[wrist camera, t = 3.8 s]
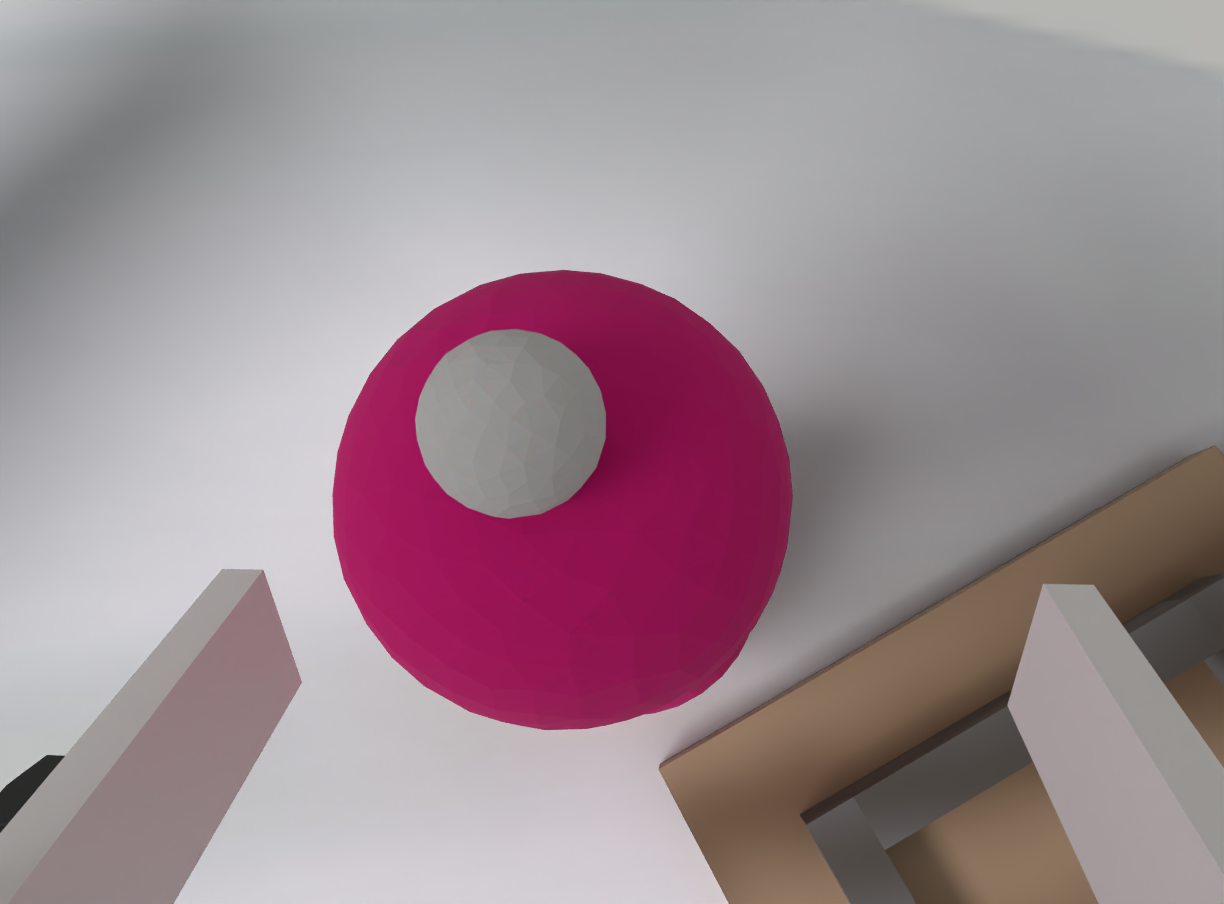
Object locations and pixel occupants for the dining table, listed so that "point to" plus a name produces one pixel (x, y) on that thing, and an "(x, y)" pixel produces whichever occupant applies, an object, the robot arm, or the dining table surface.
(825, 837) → the pocket board
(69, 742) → the dining table surface
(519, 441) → the pepper mill
